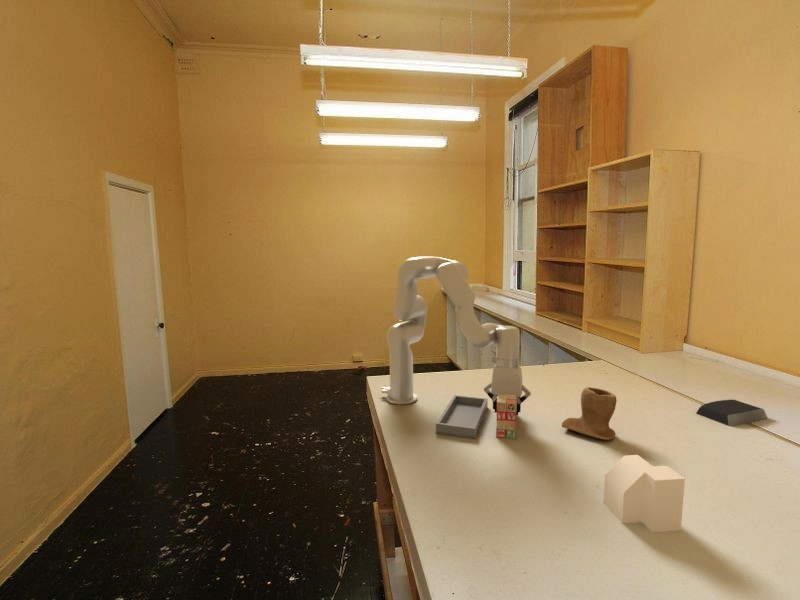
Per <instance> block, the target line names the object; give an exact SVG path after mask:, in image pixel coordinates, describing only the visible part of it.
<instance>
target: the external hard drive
mask: <svg viewBox="0 0 800 600" xmlns="http://www.w3.org/2000/svg"><path fill="white" fill-rule="evenodd" d="M695 414H696V415H698V416H701V417H704V418H707V419H709V420H711V421H715V422H718V423H719V424H722V425H725V426H727V427H736V426H743V425H748V424H753V423H756V422H755V421H757V422H761V421H764V420H767V419H768V416H767V413H766V411H765V409H764V408H762V407H758V406H755V405H752V404H749V403H746V402H742V401H740V400H736V399H722V400H716V401H715V400H714V401H711V402H708V403H704V404H702V405H701V406H700V407H698V409H697V411H696V413H695ZM760 420H761V421H760ZM752 422H753V423H752Z"/></svg>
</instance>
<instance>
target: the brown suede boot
mask: <svg viewBox="0 0 800 600" xmlns="http://www.w3.org/2000/svg"><path fill="white" fill-rule="evenodd" d="M580 394H581V395H580V407H581V416H580V417H578V418H577V417H568V418H566V419H564V421H562V423H561V427H562V428H563V429H564V428H565V429H567V430H569V431H570V430H571V431H572V432H576V433H579V434H582V435H586V436H587V437H588V436H589V437H592V438H596V439H599V440H605V441H610V440H612V439H614V438H615V437H616V431H615V430H614V429H612V428H611V427H610V424H609V423H610V421H611V419H612V417H613V416H614V413H615V409H616V407H617V406H616V405H617V396H616V395H615V394H614V393H613V392H611V391H608V390H605V389H601V388H599V387H598V388H597V387H590V386H589V387H588V386H586V387H584V388H583V389H582V392H581V393H580Z"/></svg>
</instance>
